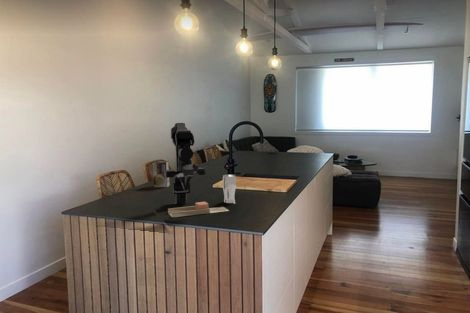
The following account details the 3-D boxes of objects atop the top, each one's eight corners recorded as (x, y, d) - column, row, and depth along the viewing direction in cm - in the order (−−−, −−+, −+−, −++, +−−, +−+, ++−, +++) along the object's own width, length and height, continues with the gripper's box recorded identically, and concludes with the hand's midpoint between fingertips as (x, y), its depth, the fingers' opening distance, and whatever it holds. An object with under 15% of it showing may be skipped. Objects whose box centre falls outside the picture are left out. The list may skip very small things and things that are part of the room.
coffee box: (169, 185, 256) (169, 161, 254) (167, 187, 250) (166, 162, 248) (156, 185, 257) (155, 161, 255) (153, 187, 251) (152, 162, 249)
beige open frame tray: (168, 214, 185) (167, 208, 184) (223, 208, 196) (223, 202, 195) (172, 219, 177) (172, 213, 177) (229, 212, 188) (229, 206, 187)
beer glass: (233, 205, 202) (232, 177, 200) (220, 204, 204) (220, 176, 202) (237, 202, 208) (237, 174, 206) (226, 201, 211) (225, 174, 209)
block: (195, 210, 188) (195, 202, 188) (205, 209, 190) (205, 201, 189) (198, 213, 183) (198, 204, 183) (208, 212, 185) (208, 203, 185)
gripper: (168, 160, 169) (169, 195, 171) (209, 158, 177) (209, 192, 179) (163, 157, 180) (164, 191, 182) (201, 155, 187) (202, 187, 189)
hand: (185, 190), depth 182 cm, fingers closed
